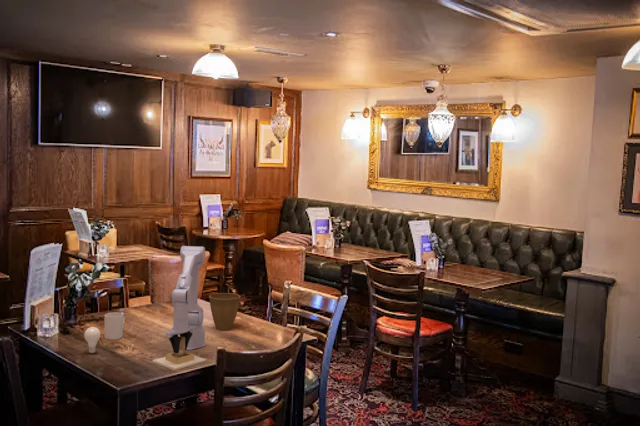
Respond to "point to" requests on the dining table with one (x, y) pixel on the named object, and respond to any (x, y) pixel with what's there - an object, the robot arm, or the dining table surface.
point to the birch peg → (181, 348)
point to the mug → (114, 325)
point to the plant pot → (224, 309)
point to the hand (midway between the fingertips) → (179, 351)
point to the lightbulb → (92, 338)
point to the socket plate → (179, 361)
